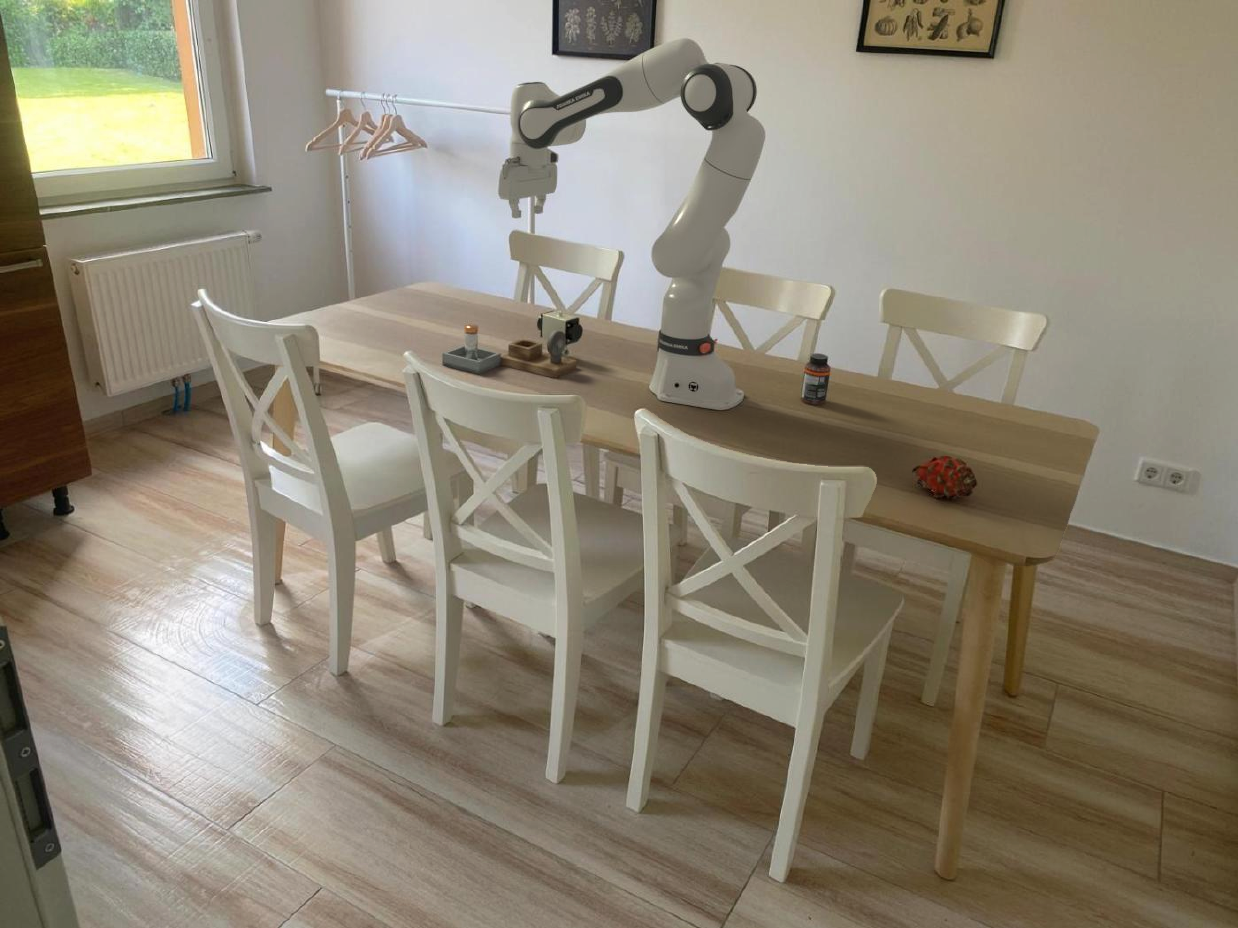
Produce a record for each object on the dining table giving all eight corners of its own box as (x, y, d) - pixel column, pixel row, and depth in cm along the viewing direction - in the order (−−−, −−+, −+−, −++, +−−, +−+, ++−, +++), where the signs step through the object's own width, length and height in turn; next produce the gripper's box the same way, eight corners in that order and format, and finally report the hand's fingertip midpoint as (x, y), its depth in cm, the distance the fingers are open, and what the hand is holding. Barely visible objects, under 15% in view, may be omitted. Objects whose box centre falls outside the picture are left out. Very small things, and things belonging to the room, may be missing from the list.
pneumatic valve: (570, 364, 228) (572, 318, 223) (535, 353, 235) (536, 308, 230) (584, 359, 233) (586, 314, 228) (549, 349, 239) (551, 304, 234)
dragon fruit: (974, 514, 168) (909, 503, 174) (986, 477, 171) (922, 468, 178) (969, 489, 161) (902, 478, 168) (981, 451, 165) (916, 442, 172)
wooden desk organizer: (576, 367, 226) (577, 329, 222) (555, 378, 218) (556, 338, 214) (523, 355, 233) (523, 317, 229) (500, 364, 225) (500, 325, 221)
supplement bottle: (809, 395, 218) (816, 350, 213) (830, 402, 214) (837, 356, 210) (794, 400, 214) (801, 354, 209) (815, 407, 210) (823, 361, 206)
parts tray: (500, 364, 225) (500, 353, 224) (478, 374, 217) (478, 362, 216) (465, 356, 229) (464, 344, 228) (442, 365, 222) (442, 353, 221)
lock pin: (480, 361, 224) (480, 326, 220) (472, 364, 221) (472, 329, 217) (470, 358, 225) (470, 323, 221) (462, 362, 222) (462, 326, 219)
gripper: (514, 160, 204) (513, 222, 209) (562, 154, 220) (560, 212, 226) (491, 157, 206) (491, 219, 212) (540, 152, 223) (539, 209, 229)
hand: (527, 215), depth 219 cm, fingers open, 8 cm apart
